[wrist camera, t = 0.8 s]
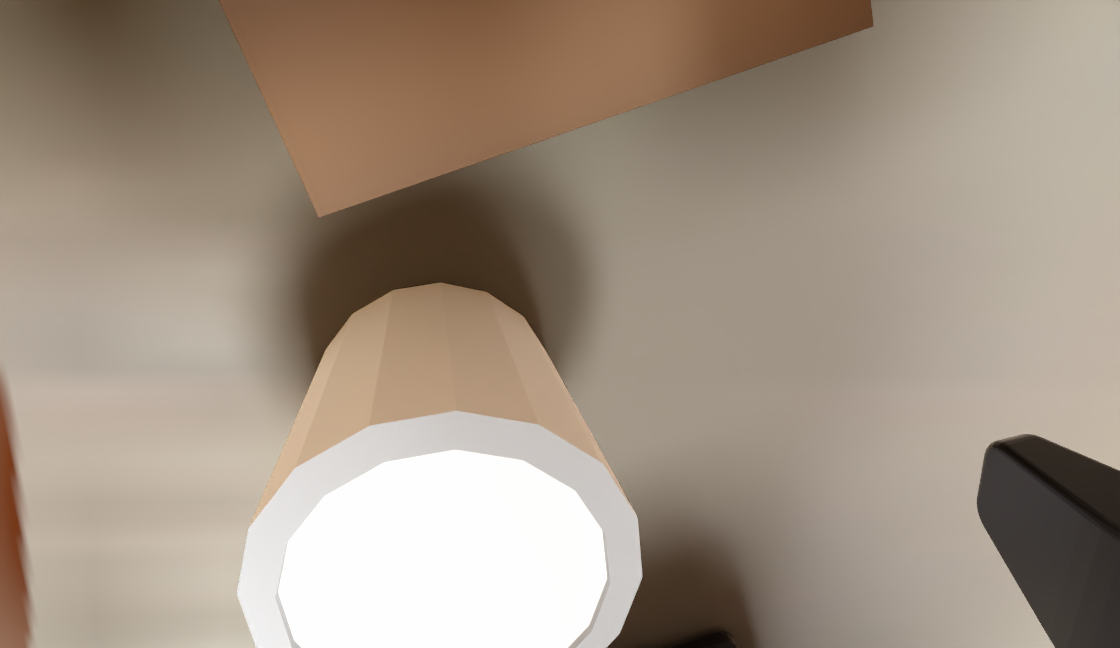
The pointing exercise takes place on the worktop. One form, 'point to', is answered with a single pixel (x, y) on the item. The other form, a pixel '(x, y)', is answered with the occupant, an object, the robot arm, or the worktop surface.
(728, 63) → the copper brown block
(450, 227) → the worktop surface
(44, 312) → the worktop surface
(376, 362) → the faceted beige tumbler
